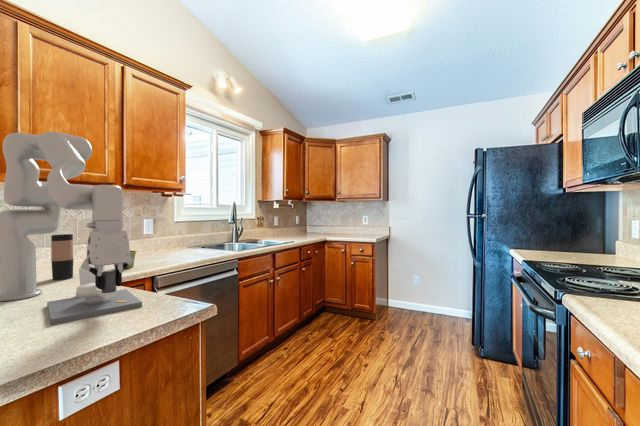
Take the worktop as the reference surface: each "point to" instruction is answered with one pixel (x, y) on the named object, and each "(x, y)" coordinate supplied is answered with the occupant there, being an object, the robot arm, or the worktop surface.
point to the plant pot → (132, 254)
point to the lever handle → (92, 290)
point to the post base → (90, 306)
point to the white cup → (87, 276)
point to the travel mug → (62, 256)
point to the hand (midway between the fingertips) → (108, 286)
